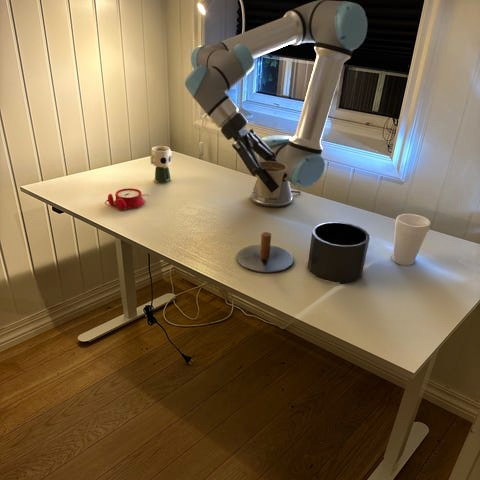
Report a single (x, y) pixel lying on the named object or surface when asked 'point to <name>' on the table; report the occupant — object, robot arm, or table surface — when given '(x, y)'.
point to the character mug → (161, 162)
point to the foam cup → (409, 237)
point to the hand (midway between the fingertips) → (279, 183)
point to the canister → (338, 252)
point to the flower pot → (276, 173)
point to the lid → (264, 257)
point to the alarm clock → (126, 199)
